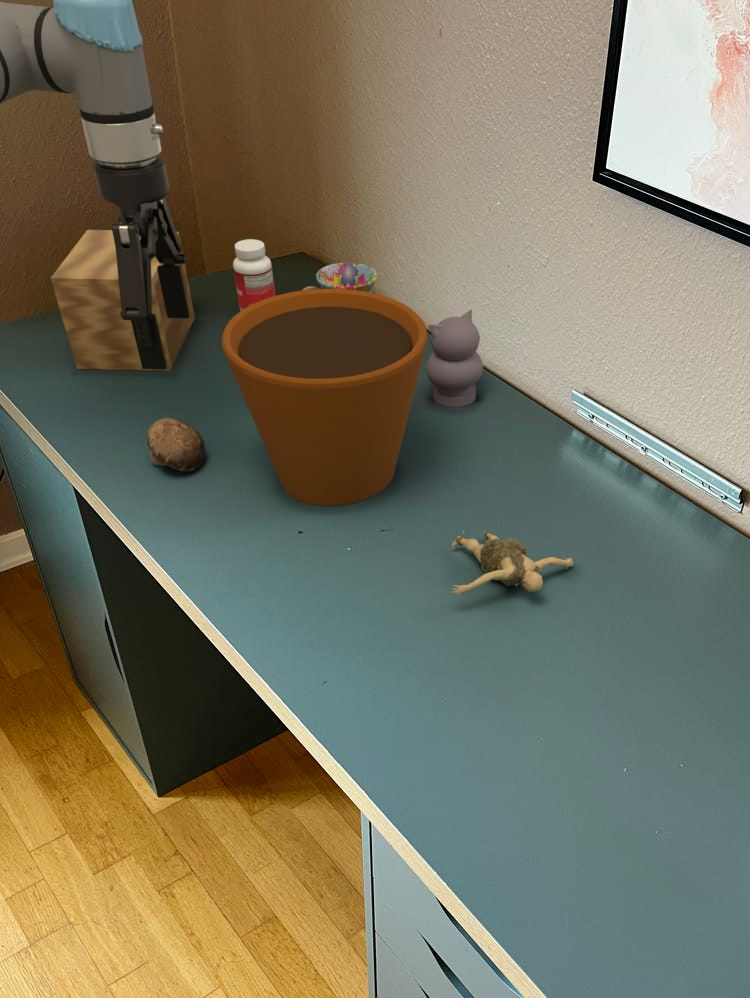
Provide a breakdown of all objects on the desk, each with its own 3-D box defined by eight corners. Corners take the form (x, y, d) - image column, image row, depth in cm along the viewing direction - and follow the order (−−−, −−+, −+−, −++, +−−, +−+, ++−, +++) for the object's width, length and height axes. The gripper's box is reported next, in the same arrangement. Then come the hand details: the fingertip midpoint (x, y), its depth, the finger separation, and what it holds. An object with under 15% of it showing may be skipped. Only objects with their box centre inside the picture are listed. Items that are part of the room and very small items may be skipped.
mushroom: (122, 445, 123) (143, 410, 120) (165, 439, 130) (187, 406, 126) (161, 491, 122) (184, 457, 119) (202, 482, 129) (225, 450, 126)
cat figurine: (448, 416, 136) (448, 337, 128) (414, 395, 141) (413, 317, 132) (493, 398, 141) (496, 320, 132) (459, 377, 145) (460, 301, 136)
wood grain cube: (76, 369, 143) (50, 277, 134) (109, 316, 157) (87, 229, 147) (170, 371, 144) (150, 279, 134) (195, 318, 157) (178, 231, 147)
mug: (372, 323, 157) (369, 259, 150) (386, 349, 151) (383, 283, 143) (300, 332, 154) (293, 267, 147) (311, 358, 148) (304, 292, 140)
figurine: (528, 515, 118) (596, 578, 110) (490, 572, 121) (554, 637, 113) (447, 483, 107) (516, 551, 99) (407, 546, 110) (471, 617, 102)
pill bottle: (242, 303, 161) (231, 237, 154) (278, 303, 162) (270, 237, 154) (238, 319, 157) (227, 252, 149) (275, 319, 157) (267, 252, 150)
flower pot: (371, 410, 137) (363, 273, 123) (463, 490, 123) (466, 346, 109) (216, 459, 127) (188, 316, 113) (298, 553, 113) (278, 402, 99)
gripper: (134, 198, 94) (176, 392, 109) (185, 124, 112) (215, 298, 127) (58, 197, 94) (110, 391, 109) (121, 122, 112) (159, 297, 127)
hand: (167, 341), depth 118 cm, fingers open, 13 cm apart
